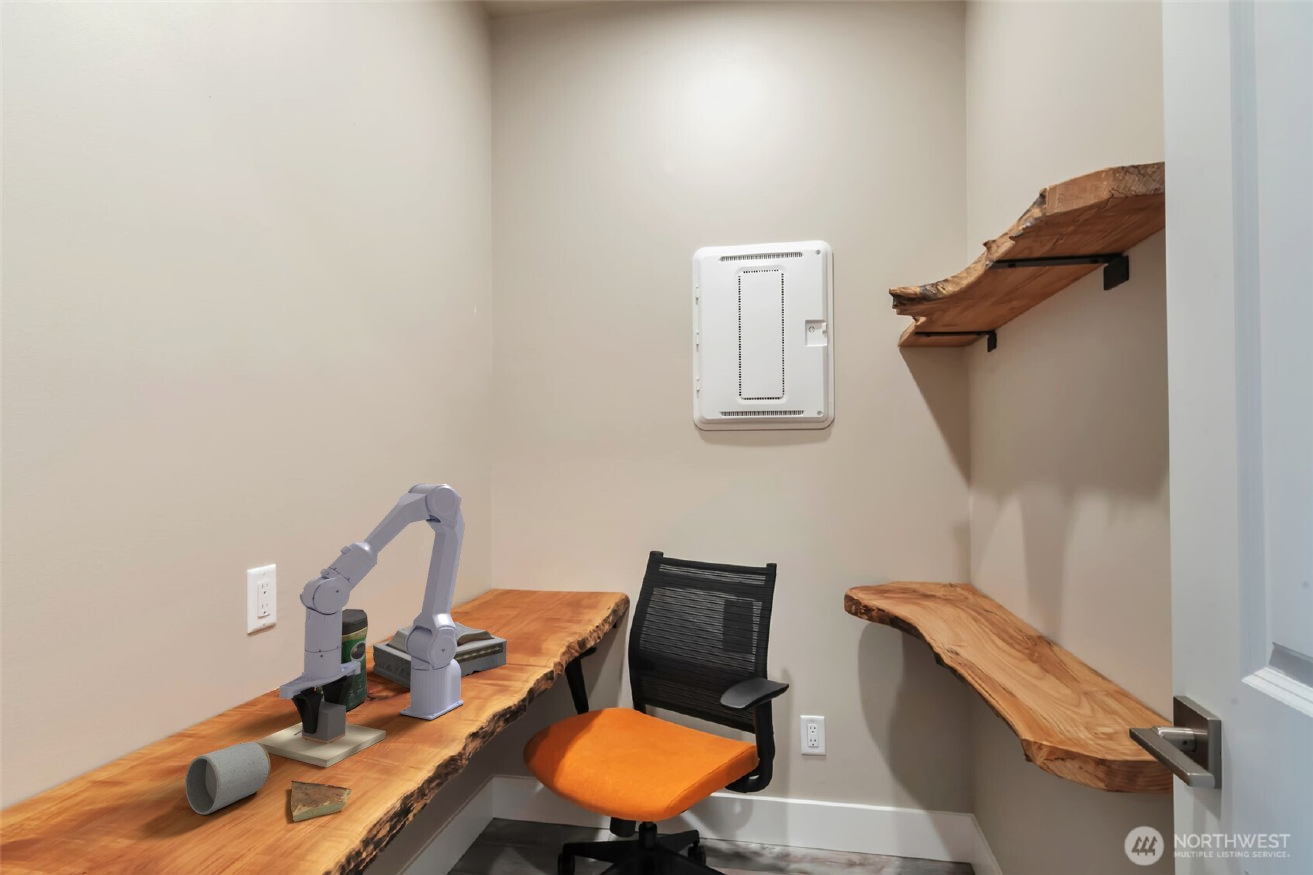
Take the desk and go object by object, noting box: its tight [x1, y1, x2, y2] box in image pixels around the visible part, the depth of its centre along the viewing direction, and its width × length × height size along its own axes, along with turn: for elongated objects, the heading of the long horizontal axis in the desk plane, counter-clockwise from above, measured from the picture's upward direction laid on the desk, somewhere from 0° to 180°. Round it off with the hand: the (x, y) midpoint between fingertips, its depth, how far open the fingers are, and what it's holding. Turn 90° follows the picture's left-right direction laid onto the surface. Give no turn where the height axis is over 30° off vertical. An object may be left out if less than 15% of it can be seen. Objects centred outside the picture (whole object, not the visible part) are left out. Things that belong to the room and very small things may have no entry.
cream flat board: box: [253, 721, 387, 768], centre depth 110 cm, size 12×17×1 cm
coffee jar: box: [315, 608, 369, 712], centre depth 128 cm, size 10×8×19 cm
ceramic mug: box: [184, 741, 271, 816], centre depth 92 cm, size 11×8×8 cm
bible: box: [372, 621, 508, 689], centre depth 152 cm, size 23×27×10 cm
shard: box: [290, 780, 352, 823], centre depth 92 cm, size 11×8×2 cm
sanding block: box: [302, 701, 347, 744], centre depth 110 cm, size 4×6×5 cm, turn 67°
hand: (320, 727), depth 110 cm, fingers closed on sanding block, 4 cm apart
